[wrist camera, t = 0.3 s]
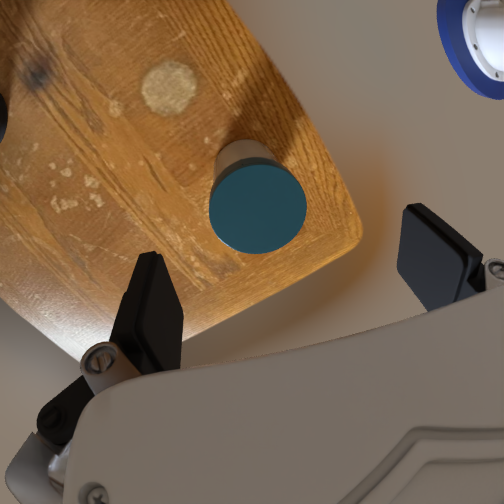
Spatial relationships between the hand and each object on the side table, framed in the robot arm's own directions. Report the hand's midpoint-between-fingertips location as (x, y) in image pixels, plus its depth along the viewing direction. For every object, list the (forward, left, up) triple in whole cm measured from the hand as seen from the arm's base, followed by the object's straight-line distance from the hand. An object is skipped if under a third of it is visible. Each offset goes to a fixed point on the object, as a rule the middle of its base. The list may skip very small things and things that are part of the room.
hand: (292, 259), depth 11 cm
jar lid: (+3, 0, -11) cm, 11 cm away
